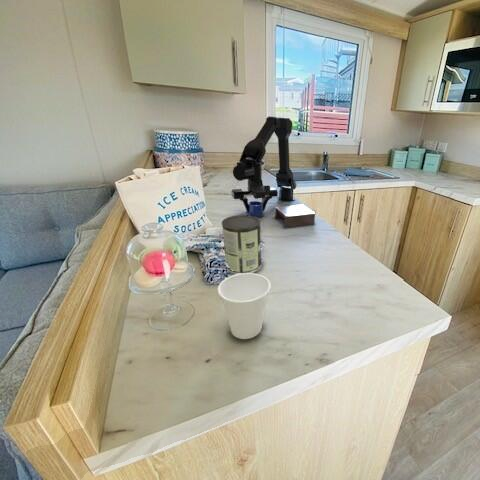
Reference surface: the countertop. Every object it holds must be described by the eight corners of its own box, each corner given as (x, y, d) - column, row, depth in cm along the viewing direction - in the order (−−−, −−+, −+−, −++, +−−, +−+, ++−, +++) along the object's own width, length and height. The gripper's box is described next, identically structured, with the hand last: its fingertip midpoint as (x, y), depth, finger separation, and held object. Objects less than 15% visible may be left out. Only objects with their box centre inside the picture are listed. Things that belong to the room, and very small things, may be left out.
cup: (227, 313, 62) (224, 272, 57) (272, 314, 63) (272, 272, 58) (216, 348, 53) (211, 301, 48) (268, 347, 54) (268, 302, 49)
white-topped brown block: (302, 215, 125) (302, 204, 123) (314, 224, 115) (315, 213, 113) (275, 218, 119) (275, 207, 117) (285, 228, 109) (285, 216, 107)
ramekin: (260, 211, 125) (260, 200, 123) (264, 215, 120) (264, 204, 118) (246, 212, 122) (246, 201, 120) (250, 217, 117) (250, 206, 115)
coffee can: (241, 254, 87) (239, 212, 81) (268, 263, 83) (268, 219, 77) (217, 268, 78) (213, 222, 72) (246, 279, 75) (244, 231, 69)
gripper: (236, 182, 104) (238, 220, 110) (282, 180, 112) (282, 216, 119) (230, 175, 112) (232, 211, 119) (273, 174, 121) (273, 208, 127)
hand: (255, 212), depth 121 cm, fingers closed on ramekin, 6 cm apart
